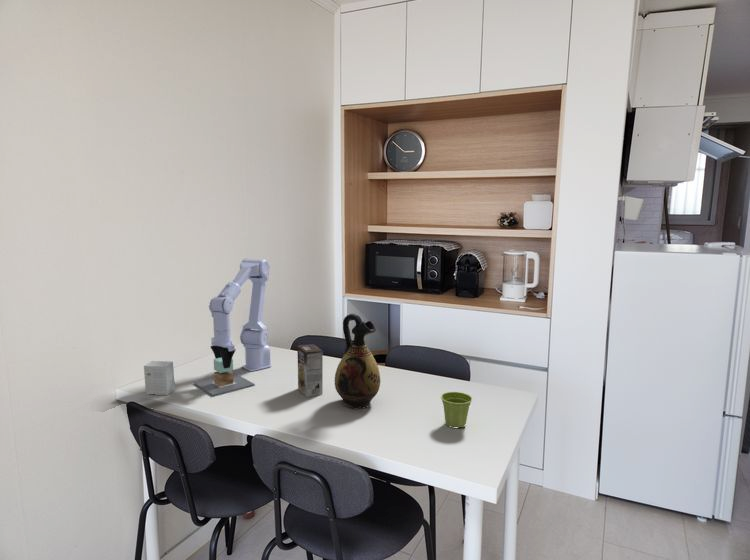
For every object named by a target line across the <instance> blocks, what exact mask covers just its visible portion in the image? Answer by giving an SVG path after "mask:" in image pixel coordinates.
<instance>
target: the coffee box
mask: <svg viewBox="0 0 750 560" xmlns="http://www.w3.org/2000/svg"><path fill="white" fill-rule="evenodd" d="M296 347H297V388H298V390H299V391H300V392H301V393H302V394H303V395H304V396H305V397H306V398H308V397H313V396H319V395H323V391H324V390H323V385H324V384H323V382H324V379H323V375H324V374H323V366H324V365H323V356H324V355H323V354H324V353H323V350H322V349H321V348H320V347H318V346H317V345H316V344H314V343H311V344H301V345H297V346H296Z"/></svg>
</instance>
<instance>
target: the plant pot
mask: <svg viewBox="0 0 750 560" xmlns="http://www.w3.org/2000/svg"><path fill="white" fill-rule="evenodd" d="M440 398H441V400H442V404H443V412H444V421H445V422H444V423H445V425H447V426H448V427H449V426H451V427H460V428H462V426H464V425H465V424H466V425H467V420H468V414H469V410H470V406H471V403H472V401H473V397H472V396H471V395H470V394H468V393H464V392H461V391H449V392H448V391H447V392H444V393H442V394H441V395H440ZM466 425H465V426H466ZM451 427H450V428H451Z"/></svg>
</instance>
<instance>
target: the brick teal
mask: <svg viewBox="0 0 750 560" xmlns="http://www.w3.org/2000/svg"><path fill="white" fill-rule="evenodd" d="M213 370H214V371H215V372H219V373H223V372H227V371H231V372H232V371H234V359H233V358H232V360H231V365H230V368H224V366H223V362H222V357H221V358H213Z"/></svg>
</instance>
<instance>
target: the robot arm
mask: <svg viewBox="0 0 750 560" xmlns="http://www.w3.org/2000/svg"><path fill="white" fill-rule="evenodd" d="M269 276H270V264H269V261H267V259H253V258H252V259H251V258H243V259H242V261H241V263H239V270H238V272H237V274H236V276H235V277H234V279H233V280H232V282H228V283H226V284H225V285H224V287H223V289H222V290H221V291H220V292H219V294H218V295H217V296H214V297H213V298H211V299H210V302H209V305H208V308H209V311H210V313H211V317H212V318H213V337H211V340H210V341H211V344H210V349H211V351H212V353H213V354H214V359H216V358H221V357H222V362H223V366H224V368H230V365H231V360H232V359H233V356H234V354H235V352H236V348H235V345H234V343H233V342H232V338H231V335H232V334H231V315H230V314H231V312H232V311H233V308H234V304H235V300H237V298H238V296H239V295H240V294H241V287H242V286H243V285H244V284H245V283H246V282H247V281H248V280H250V281H251V283H252V289H251V296H250V297H251V298H250V307H249V314H248V322H247V323H245V324H243V326H242V330H241V332H240V335H239V340H240V343H241V344H242V345H243V347H244V349H245V350H244V351H245V352H244V353H245V364H244V365H241V368H244V369H245V370H247V371H249V372H255V371H258V370H263V369H268V368H271V367H272V365H271V349H270V346H269V345H268V344H267V343H268V339H269V336H268V327H267V326H266V325H265V324H264V323H263V315H264V306H265V297H266V288H267V281H269Z"/></svg>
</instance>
